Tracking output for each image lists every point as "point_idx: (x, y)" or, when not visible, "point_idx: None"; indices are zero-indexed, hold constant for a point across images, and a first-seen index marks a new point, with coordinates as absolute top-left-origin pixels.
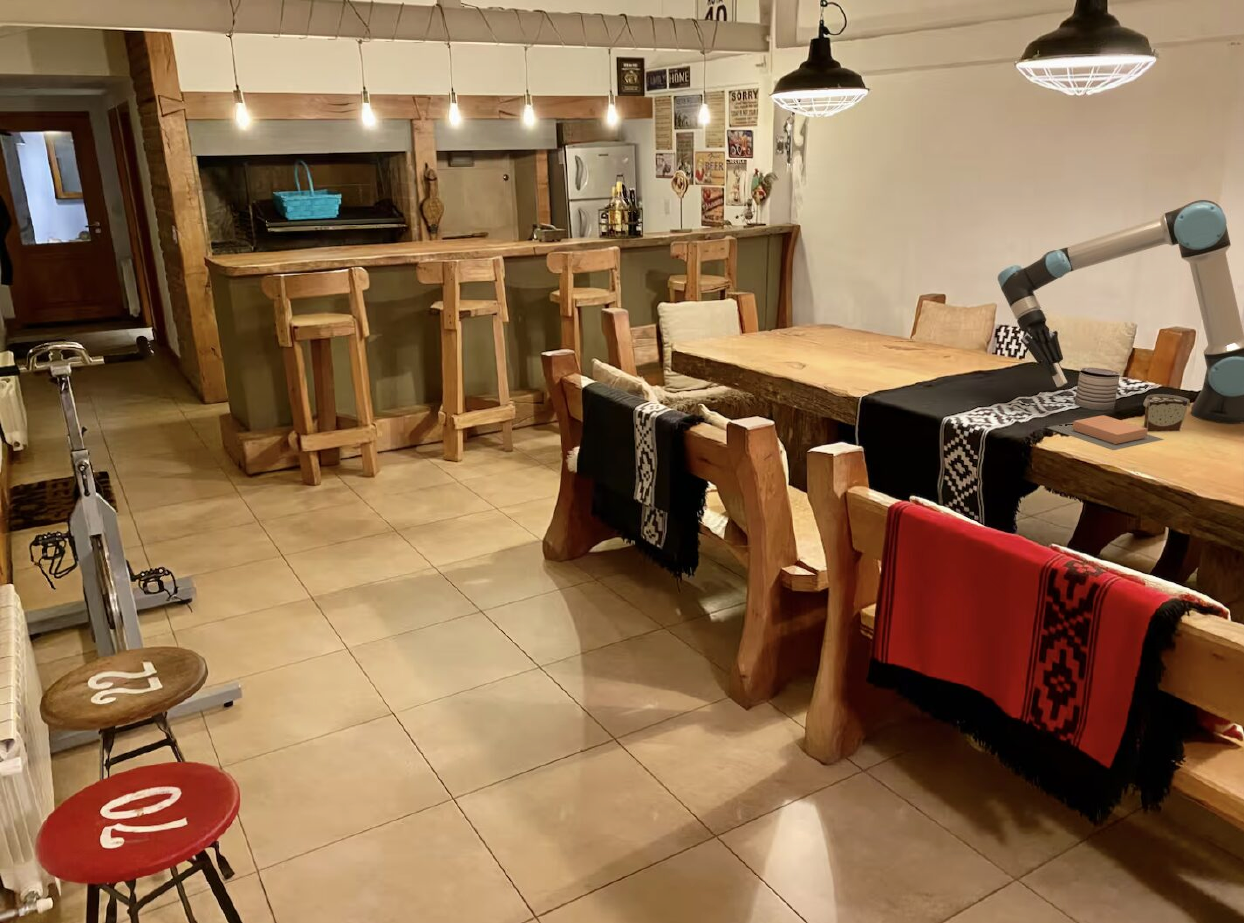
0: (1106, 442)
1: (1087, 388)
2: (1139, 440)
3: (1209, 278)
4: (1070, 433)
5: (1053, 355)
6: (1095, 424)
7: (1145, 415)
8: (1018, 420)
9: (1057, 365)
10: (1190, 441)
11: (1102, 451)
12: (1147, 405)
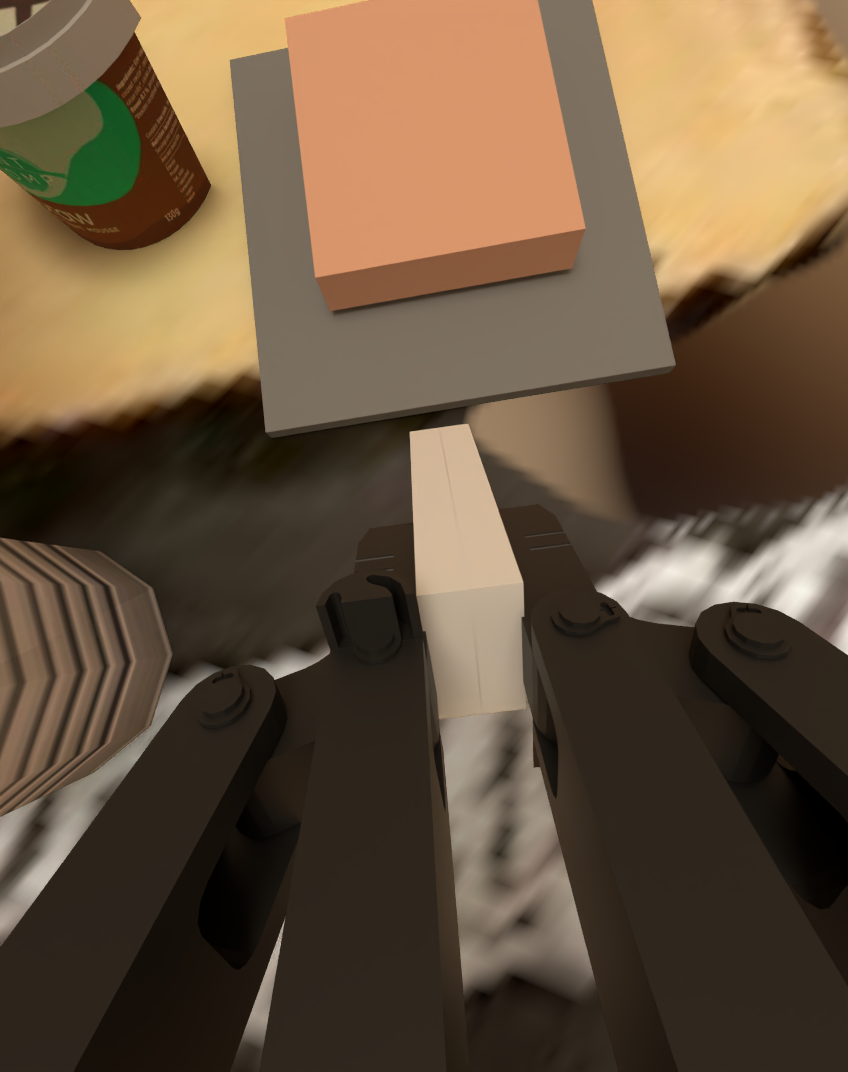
0: None
1: (46, 644)
2: None
3: None
4: (611, 239)
5: (435, 785)
6: (507, 139)
7: (147, 122)
8: (703, 582)
9: (457, 557)
10: None
11: (615, 31)
12: (126, 2)
